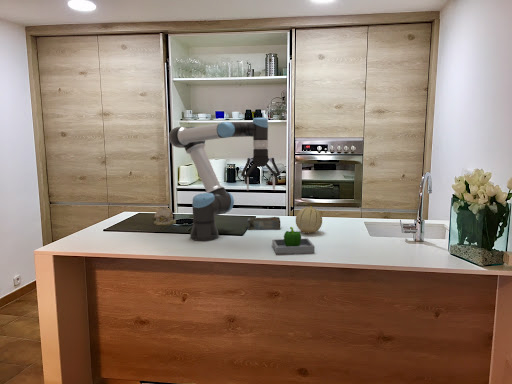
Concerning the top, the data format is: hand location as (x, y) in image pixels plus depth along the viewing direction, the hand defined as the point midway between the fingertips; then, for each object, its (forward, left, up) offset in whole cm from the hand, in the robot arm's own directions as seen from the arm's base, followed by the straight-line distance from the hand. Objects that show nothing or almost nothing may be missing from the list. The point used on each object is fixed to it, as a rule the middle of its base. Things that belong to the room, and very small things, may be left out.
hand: (260, 189), depth 213 cm
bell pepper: (+13, -20, -26) cm, 36 cm away
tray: (+13, -21, -27) cm, 36 cm away
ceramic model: (-55, +46, -27) cm, 77 cm away
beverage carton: (+4, +24, -27) cm, 37 cm away
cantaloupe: (+28, +10, -27) cm, 40 cm away
